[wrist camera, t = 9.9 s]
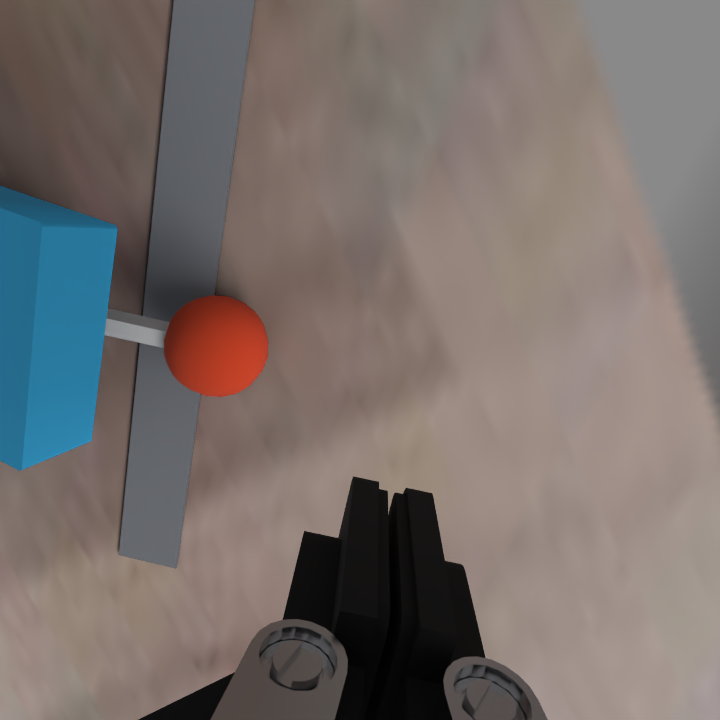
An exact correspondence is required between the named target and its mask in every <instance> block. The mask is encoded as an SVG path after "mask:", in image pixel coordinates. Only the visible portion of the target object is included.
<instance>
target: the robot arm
mask: <svg viewBox="0 0 720 720" xmlns="http://www.w3.org/2000/svg"><path fill="white" fill-rule="evenodd" d="M139 720H548V719H547V717H546V715H545V713H544V711H543V709H542V707H541V705H540V703H539V700H538V699H537V697H536V696H535V694H534V693H533V691H532V689H531V688H530V687H529V686H528V684H527V683H526V682H525V681H524V680H523V679H522V678H521V677H520V676H519V675H517V674H516V673H515V672H513V671H512V670H510V669H509V668H507V667H506V666H504V665H502V664H500V663H498V662H495V661H493V660H491V659H486V658H485V654H484V650H483V645H482V641H481V637H480V633H479V628H478V624H477V620H476V615H475V611H474V607H473V603H472V598H471V594H470V590H469V585H468V581H467V577H466V573H465V569H464V567H463V566H462V565H461V564H457V563H452V562H448V561H445V559H444V554H443V548H442V543H441V537H440V532H439V526H438V521H437V515H436V510H435V504H434V499H433V494H432V493H428V492H423V491H419V490H414V489H409V488H406V489H405V491H404V493H403V494H400V493H394V496H393V499H392V503H391V507H390V510H389V514H388V491H386V490H381V489H379V482H377V481H372V480H367V479H363V478H358V477H353V479H352V482H351V486H350V491H349V495H348V499H347V503H346V508H345V512H344V516H343V520H342V525H341V529H340V533H339V537H338V538H335V537H330V536H325V535H321V534H316V533H311V532H306V531H304V534H303V538H302V542H301V547H300V551H299V555H298V559H297V563H296V567H295V571H294V575H293V580H292V584H291V588H290V592H289V596H288V600H287V604H286V608H285V613H284V617H283V620H281V621H277V622H274V623H270V624H269V625H267V626H266V627H264V628H263V629H261V630H260V631H259V632H258V633H257V634H256V636H255V637H254V638H253V639H252V641H251V643H250V644H249V646H248V648H247V650H246V652H245V654H244V656H243V658H242V660H241V662H240V664H239V666H238V668H237V669H236V671H235V672H234V673H232V674H230V675H228V676H226V677H224V678H222V679H220V680H218V681H216V682H214V683H212V684H210V685H208V686H206V687H204V688H202V689H200V690H198V691H196V692H194V693H192V694H190V695H188V696H186V697H184V698H182V699H179V700H177V701H175V702H173V703H171V704H169V705H167V706H165V707H163V708H161V709H159V710H157V711H155V712H153V713H151V714H149V715H147V716H145V717H143V718H141V719H139Z"/></svg>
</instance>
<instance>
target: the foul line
mask: <svg viewBox="0 0 720 720" xmlns="http://www.w3.org/2000/svg"><path fill="white" fill-rule="evenodd" d="M254 4H255V0H174V4H173V14H172V24H171V34H170V44H169V54H168V64H167V75H166V85H165V95H164V105H163V115H162V125H161V135H160V145H159V155H158V165H157V175H156V185H155V195H154V206H153V216H152V226H151V236H150V246H149V256H148V266H147V276H146V286H145V296H144V306H143V316H145V317H149V318H153V319H158V320H162V321H167V322H170V321H171V319H172V318H173V316H174V315H175V314H176V312H177V311H178V310H179V309H180V308H181V307H183V306H184V305H185V304H187V303H189V302H191V301H193V300H195V299H198V298H202V297H207V296H212V295H215V288H216V280H217V273H218V266H219V259H220V251H221V244H222V237H223V229H224V222H225V215H226V208H227V200H228V193H229V186H230V179H231V171H232V164H233V157H234V150H235V142H236V135H237V128H238V121H239V113H240V106H241V99H242V92H243V84H244V77H245V70H246V63H247V55H248V48H249V41H250V34H251V26H252V19H253V12H254ZM200 396H201V394H200V393H197V392H194V391H192V390H190V389H188V388H187V387H185V386H184V385H182V384H181V383H180V382H179V381H178V380H177V379H176V378H175V377H174V376H173V374H172V372H171V371H170V369H169V367H168V365H167V362H166V359H165V356H164V348H161V347H157V346H152V345H148V344H143V343H140V347H139V357H138V367H137V377H136V387H135V397H134V407H133V417H132V427H131V437H130V447H129V458H128V468H127V478H126V488H125V498H124V508H123V518H122V528H121V538H120V548H119V555H121V556H125V557H129V558H134V559H138V560H142V561H146V562H151V563H155V564H159V565H163V566H168V567H172V568H177V563H178V556H179V549H180V542H181V534H182V527H183V520H184V513H185V505H186V498H187V491H188V484H189V476H190V469H191V462H192V454H193V447H194V440H195V433H196V425H197V418H198V411H199V404H200Z"/></svg>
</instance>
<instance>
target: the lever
mask: <svg viewBox="0 0 720 720" xmlns="http://www.w3.org/2000/svg"><path fill="white" fill-rule="evenodd" d="M117 230H118V229H117V227H116V225H114V224H111V223H108V222H105V221H102V220H99V219H96V218H93V217H90V216H88V215H85V214H82V213H79V212H76V211H73V210H70V209H67V208H64V207H61V206H58V205H55V204H52V203H49V202H46V201H44V200H41V199H38V198H35V197H32V196H29V195H26V194H23V193H20V192H17V191H14V190H11V189H8V188H5V187H3V186H0V461H2V462H4V463H6V464H8V465H10V466H12V467H13V468H15V469H17V470H19V471H21V470H23V469H25V468H28V467H30V466H33V465H35V464H37V463H40V462H42V461H45V460H47V459H50V458H52V457H54V456H57V455H59V454H62V453H64V452H66V451H69V450H71V449H74V448H76V447H78V446H81V445H83V444H86V443H88V442H90V441H91V440H92V432H93V424H94V416H95V408H96V400H97V392H98V383H99V375H100V367H101V359H102V351H103V343H104V335H107V336H111V337H116V338H120V339H125V340H129V341H134V342H138V343H143V344H148V345H152V346H157V347H161V348H164V356H165V359H166V362H167V365H168V367H169V369H170V371H171V372H172V374H173V376H174V377H175V378H176V379H177V380H178V381H179V382H180V383H181V384H182V385H184V386H185V387H187V388H188V389H190V390H192V391H194V392H197V393H200V394H202V395H205V396H218V397H223V396H227V395H232V394H235V393H238V392H240V391H242V390H244V389H245V388H247V387H248V386H249V385H251V384H252V382H253V381H254V380H255V379H256V378H257V376H258V375H259V374H260V373H261V372H262V370H263V367H264V365H265V362H266V360H267V357H268V339H267V335H266V331H265V327H264V325H263V323H262V321H261V319H260V317H259V316H258V315H257V314H256V313H255V311H254V310H252V309H251V308H250V307H249V306H247V305H246V304H245V303H243V302H241V301H238V300H236V299H233V298H231V297H227V296H215V295H212V296H207V297H202V298H198V299H195V300H193V301H191V302H189V303H187V304H185V305H184V306H183V307H181V308H180V309H179V310H178V311H177V312H176V314H175V315H174V316H173V318H172V319H171V321H170V322H167V321H162V320H158V319H153V318H149V317H145V316H140V315H136V314H131V313H127V312H123V311H118V310H114V309H109V308H108V303H109V295H110V287H111V279H112V271H113V262H114V254H115V246H116V238H117Z"/></svg>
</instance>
